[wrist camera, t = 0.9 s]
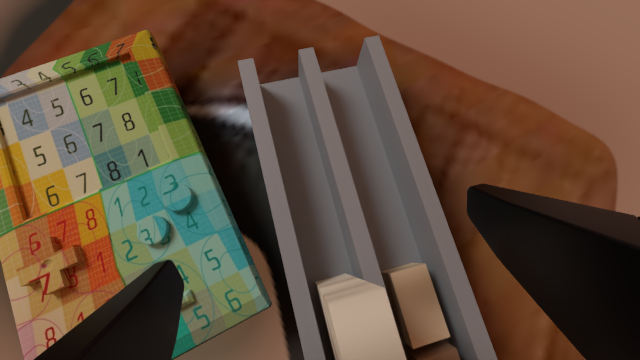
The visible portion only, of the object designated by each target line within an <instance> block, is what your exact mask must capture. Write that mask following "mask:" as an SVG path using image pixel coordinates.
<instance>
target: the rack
mask: <svg viewBox="0 0 640 360" xmlns="http://www.w3.org/2000/svg"><path fill="white" fill-rule="evenodd" d="M298 52H299V77H297V78H292V79H287V80H282V81H276V82H271V83H266V84H261V85H259V81H258V77H257V72H256V68H255V64H254V60H253V58H251V59H245V60H240V61H238V65H239V70H240V74H241V79H242V83H243V88H244V92H245V96H246V101H247V105H248V110H249V114H250V119H251V123H252V128H253V132H254V136H255V141H256V145H257V150H258V154H259V159H260V163H261V168H262V172H263V176H264V181H265V185H266V190H267V194H268V199H269V203H270V208H271V212H272V216H273V221H274V225H275V230H276V234H277V239H278V243H279V248H280V252H281V256H282V261H283V265H284V270H285V274H286V279H287V283H288V288H289V292H290V296H291V301H292V305H293V310H294V314H295V319H296V323H297V328H298V332H299V336H300V341H301V345H302V350H303V354H304V359H305V360H334V357H333V353H332V349H331V345H330V341H329V337H328V332H327V328H326V324H325V320H324V316H323V312H322V308H321V304H320V300H319V296H318V292H317V288H316V284H315V282H317V281H320V280H324V279H327V278H331V277H334V276H338V275H341V274H345V273H346V274H348V275H351V276H354V277H357V278H359V279H362V280H365V281H367V282H370V283H373V284H376V285H378V286H381V287H384V288H385V285H384V281H383V278H382V275H381V271H385V270H388V269H392V268H395V267H399V266H402V265H406V264H409V263H425V264H426V266H427V269H428V272H429V275H430V278H431V281H432V284H433V287H434V290H435V293H436V296H437V299H438V302H439V305H440V307H441V310H442V313H443V316H444V319H445V322H446V325H447V328H448V331H449V334H450V337H448V338H445V339H442V340H443V341H445V342H447V343H448V344H450V345H452V346H454V347H455V348H457V351H458V354H459V357H460V360H497V357H496V354H495V351H494V349H493V346H492V343H491V340H490V338H489V335H488V332H487V330H486V327H485V324H484V321H483V319H482V316H481V313H480V310H479V308H478V305H477V302H476V300H475V297H474V294H473V291H472V289H471V286H470V283H469V280H468V278H467V275H466V272H465V270H464V267H463V264H462V261H461V259H460V256H459V253H458V250H457V248H456V245H455V242H454V240H453V237H452V234H451V231H450V229H449V226H448V223H447V221H446V218H445V215H444V212H443V210H442V207H441V204H440V201H439V199H438V196H437V193H436V191H435V188H434V185H433V182H432V180H431V177H430V174H429V171H428V169H427V166H426V163H425V161H424V158H423V155H422V152H421V150H420V147H419V144H418V141H417V139H416V136H415V133H414V131H413V128H412V125H411V122H410V120H409V117H408V114H407V111H406V109H405V106H404V103H403V101H402V98H401V95H400V92H399V90H398V87H397V84H396V81H395V79H394V76H393V73H392V71H391V68H390V65H389V62H388V60H387V57H386V54H385V52H384V49H383V46H382V43H381V41H380V38H379V36H373V37H368V38H365V39H364V42H363V46H362V49H361V52H360V56H359V59H358V63H357V66H354V67H349V68H344V69H339V70H334V71H328V72H323V73H321V71H320V68H319V65H318V62H317V58H316V55H315V52H314V48H313V47H312V48H306V49H301V50H298ZM385 290H386V288H385ZM386 293H387V291H386ZM387 297H388V295H387ZM388 300H389V298H388ZM389 303H390V301H389ZM390 307H391V305H390ZM391 310H392V308H391ZM392 313H393V311H392ZM393 317H394V315H393ZM394 320H395V318H394ZM395 323H396V321H395ZM396 327H397V325H396ZM397 330H398V328H397ZM398 333H399V331H398ZM399 337H400V335H399ZM400 340H401V343H402V347H403V346H406V345H408V344H407V343H405V342H404V341H403V340H402V339H401V338H400ZM403 350H404V348H403ZM404 353H405V351H404ZM405 357H406V355H405ZM406 360H407V358H406Z"/></svg>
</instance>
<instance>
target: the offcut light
mask: <svg viewBox="0 0 640 360" xmlns="http://www.w3.org/2000/svg"><path fill="white" fill-rule="evenodd" d="M381 275H382V278H383V281H384V285H385V288H386V291H387V295H388V298H389V301H390V305H391V308H392V311H393V315H394V318H395V321H396V325H397V328H398V331H399V335H400V338H401V339H402V340H403V341H404V342H405V343H407V344H408V345H409V346H410V347H411V348H413V349H415V348H418V347H421V346H424V345H427V344H430V343H433V342H436V341H439V340H442V339H445V338H448V337H450V334H449V331H448V328H447V325H446V322H445V319H444V316H443V313H442V310H441V307H440V305H439V302H438V299H437V296H436V293H435V290H434V287H433V284H432V281H431V278H430V275H429V272H428V269H427V266H426V264H425V263H409V264H406V265H402V266H399V267H395V268H392V269H388V270H385V271H381Z"/></svg>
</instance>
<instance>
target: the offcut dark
mask: <svg viewBox="0 0 640 360" xmlns="http://www.w3.org/2000/svg"><path fill="white" fill-rule="evenodd" d="M403 348H404V351H405V355H406V358H407V360H460V357H459V354H458V351H457V348H455V347H454V346H452V345H450V344H448V343H447V342H445V341H443V340H439V341H436V342H433V343H430V344H427V345H424V346H421V347H418V348H415V349H413V348H411V347H410V346H409V345H406V346H403Z"/></svg>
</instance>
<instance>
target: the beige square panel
mask: <svg viewBox="0 0 640 360" xmlns="http://www.w3.org/2000/svg"><path fill="white" fill-rule="evenodd" d="M315 284H316V288H317V292H318V296H319V300H320V304H321V308H322V312H323V316H324V320H325V324H326V328H327V332H328V337H329V341H330V345H331V349H332V353H333V357H334V360H406V357H405V353H404V350H403V347H402V343H401V340H400V337H399V333H398V330H397V327H396V323H395V320H394V317H393V313H392V310H391V307H390V303H389V300H388V297H387V293H386V290H385V288H384V287H381V286H378V285H376V284H373V283H370V282H367V281H365V280H362V279H359V278H357V277H354V276H351V275H348V274H346V273H345V274H341V275H338V276H334V277H331V278H327V279H324V280H320V281H317V282H315Z"/></svg>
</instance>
